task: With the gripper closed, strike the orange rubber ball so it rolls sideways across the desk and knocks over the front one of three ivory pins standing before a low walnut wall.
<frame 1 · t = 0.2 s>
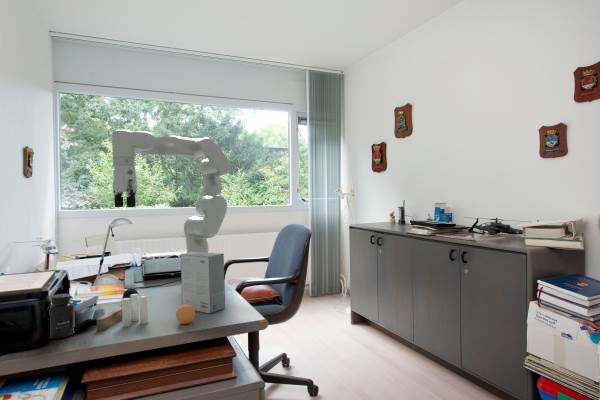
hand: (125, 207, 143), 37 cm above the table, tool pointing down, fingers open, 9 cm apart
back right pin: (135, 320, 123), on the table
front pin: (144, 322, 121), on the table
backstop wall: (113, 322, 122), on the table
supplement bottle: (61, 335, 111), on the table
ball: (185, 314, 119), on the table
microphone: (130, 299, 151), on the table
hard drive box: (203, 308, 135), on the table
back left pin: (126, 325, 119), on the table
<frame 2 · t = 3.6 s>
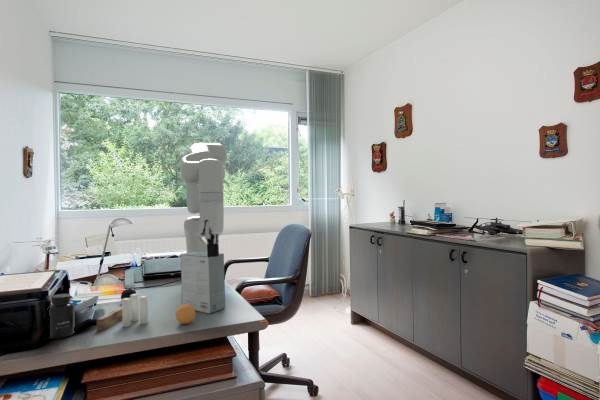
hand: (213, 256, 118), 22 cm above the table, tool pointing down, fingers closed
nothing on the table moved.
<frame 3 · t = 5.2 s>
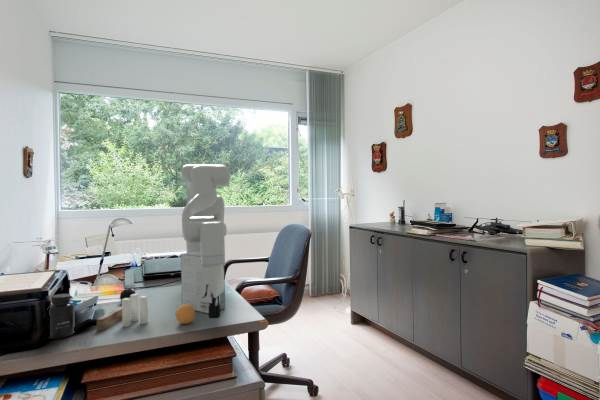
hand: (214, 317, 118), 2 cm above the table, tool pointing down, fingers closed
nothing on the table moved.
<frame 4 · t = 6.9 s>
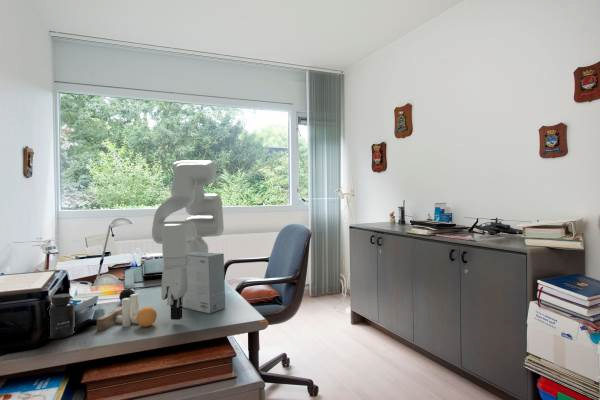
hand: (176, 318, 120), 1 cm above the table, tool pointing down, fingers closed
front pin: (142, 319, 121), point 1 cm above the table, tilted 90°
ball: (146, 316, 118), on the table
everything else where it was.
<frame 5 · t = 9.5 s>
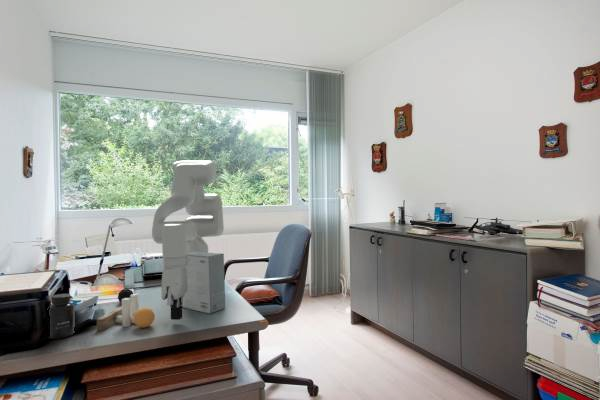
hand: (176, 318, 120), 2 cm above the table, tool pointing down, fingers closed
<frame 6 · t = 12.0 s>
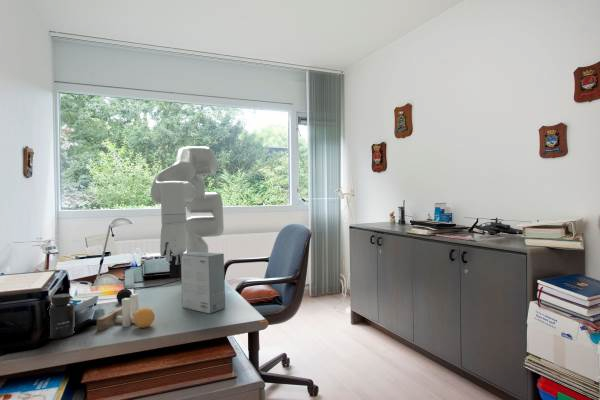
hand: (175, 276, 119), 15 cm above the table, tool pointing down, fingers closed
at the end: front pin tilted 90°; front pin never touched the robot; ball moved 12.5 cm from its start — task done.
